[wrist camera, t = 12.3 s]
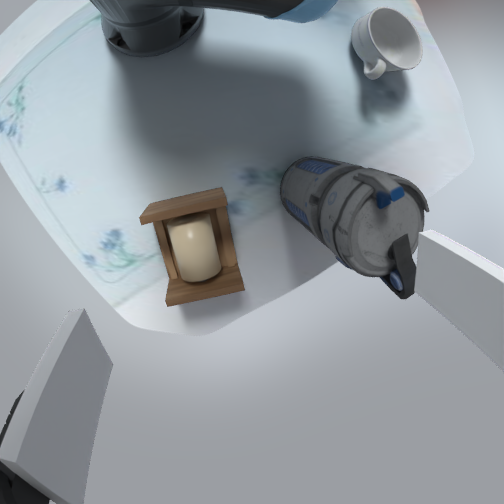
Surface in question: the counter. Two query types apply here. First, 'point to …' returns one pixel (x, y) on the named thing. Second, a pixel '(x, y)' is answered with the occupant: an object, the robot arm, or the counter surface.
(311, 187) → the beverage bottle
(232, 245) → the holder
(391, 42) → the teacup
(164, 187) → the counter surface
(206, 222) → the cylinder
